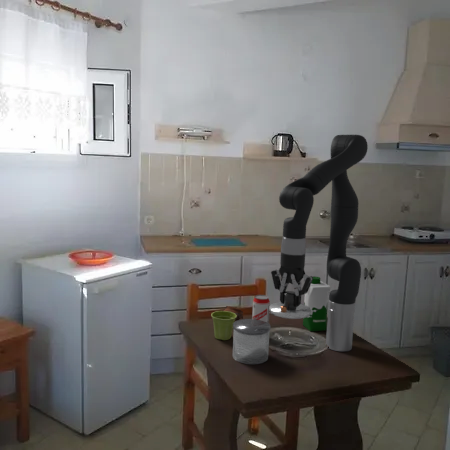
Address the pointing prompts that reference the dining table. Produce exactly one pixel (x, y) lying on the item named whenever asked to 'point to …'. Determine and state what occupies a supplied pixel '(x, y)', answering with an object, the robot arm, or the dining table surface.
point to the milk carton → (317, 305)
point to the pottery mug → (236, 311)
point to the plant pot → (223, 324)
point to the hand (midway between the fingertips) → (290, 304)
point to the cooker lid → (289, 308)
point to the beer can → (261, 308)
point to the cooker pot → (251, 341)
